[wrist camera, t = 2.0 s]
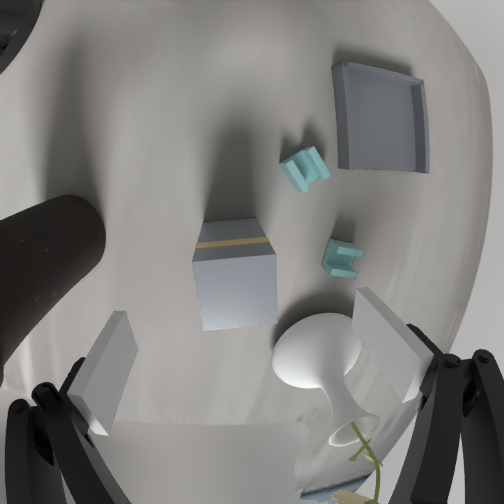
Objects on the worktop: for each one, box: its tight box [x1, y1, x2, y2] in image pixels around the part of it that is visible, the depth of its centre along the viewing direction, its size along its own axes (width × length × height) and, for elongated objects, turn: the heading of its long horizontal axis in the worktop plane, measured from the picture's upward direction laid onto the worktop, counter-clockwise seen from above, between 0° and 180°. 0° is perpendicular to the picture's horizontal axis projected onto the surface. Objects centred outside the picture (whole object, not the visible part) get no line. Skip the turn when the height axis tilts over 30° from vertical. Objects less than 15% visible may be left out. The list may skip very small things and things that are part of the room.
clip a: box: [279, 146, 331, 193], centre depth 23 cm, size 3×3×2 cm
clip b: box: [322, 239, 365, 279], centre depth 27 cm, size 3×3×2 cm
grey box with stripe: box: [192, 218, 278, 331], centre depth 22 cm, size 5×5×10 cm
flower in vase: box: [271, 313, 383, 504], centre depth 20 cm, size 13×11×25 cm
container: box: [0, 195, 105, 387], centre depth 15 cm, size 9×9×20 cm
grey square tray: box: [332, 61, 429, 174], centre depth 22 cm, size 11×10×2 cm
